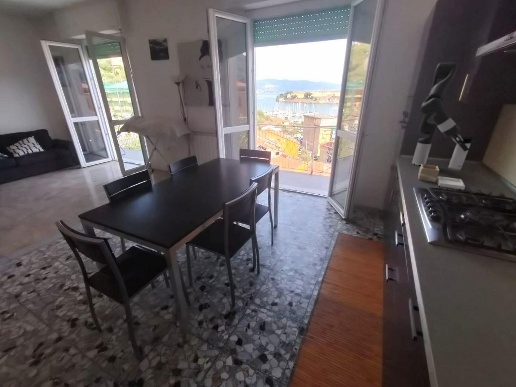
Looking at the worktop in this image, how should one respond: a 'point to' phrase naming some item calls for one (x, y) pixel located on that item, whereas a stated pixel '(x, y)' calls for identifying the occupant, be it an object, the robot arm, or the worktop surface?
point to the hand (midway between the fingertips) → (465, 149)
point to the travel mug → (459, 154)
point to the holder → (428, 173)
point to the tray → (450, 183)
